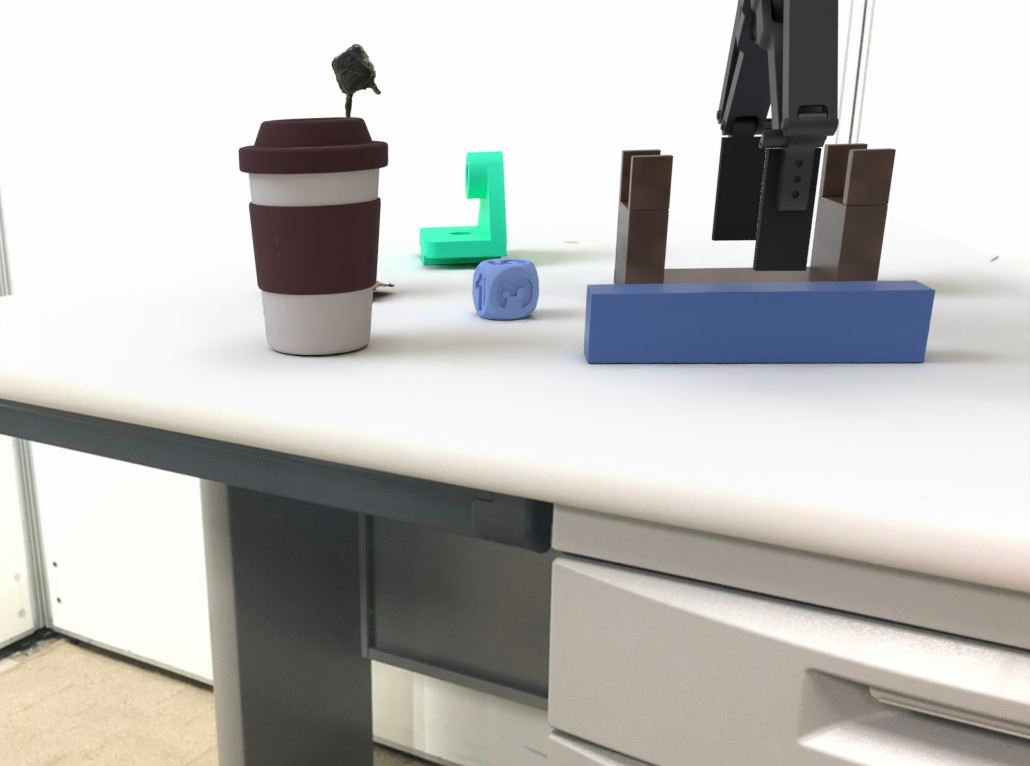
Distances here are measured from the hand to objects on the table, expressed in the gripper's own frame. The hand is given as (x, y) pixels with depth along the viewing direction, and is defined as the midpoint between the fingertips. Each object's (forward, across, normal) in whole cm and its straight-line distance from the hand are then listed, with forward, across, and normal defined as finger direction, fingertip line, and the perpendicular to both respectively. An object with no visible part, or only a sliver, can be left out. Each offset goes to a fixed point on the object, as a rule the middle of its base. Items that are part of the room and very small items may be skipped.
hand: (754, 254), depth 73 cm
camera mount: (+7, -45, -19) cm, 49 cm away
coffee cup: (+7, -4, -28) cm, 29 cm away
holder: (+6, -25, +4) cm, 26 cm away
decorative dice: (+7, -15, -15) cm, 22 cm away
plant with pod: (+7, -25, -30) cm, 39 cm away
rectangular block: (+6, 0, 0) cm, 6 cm away
